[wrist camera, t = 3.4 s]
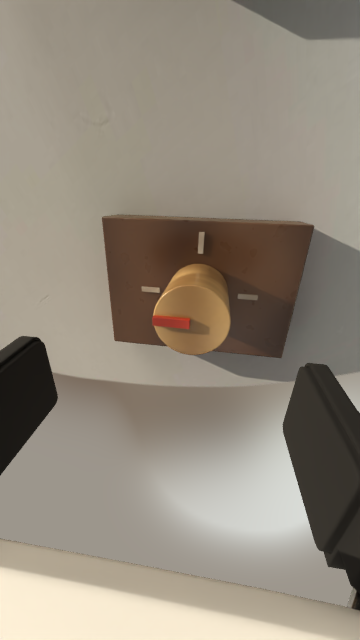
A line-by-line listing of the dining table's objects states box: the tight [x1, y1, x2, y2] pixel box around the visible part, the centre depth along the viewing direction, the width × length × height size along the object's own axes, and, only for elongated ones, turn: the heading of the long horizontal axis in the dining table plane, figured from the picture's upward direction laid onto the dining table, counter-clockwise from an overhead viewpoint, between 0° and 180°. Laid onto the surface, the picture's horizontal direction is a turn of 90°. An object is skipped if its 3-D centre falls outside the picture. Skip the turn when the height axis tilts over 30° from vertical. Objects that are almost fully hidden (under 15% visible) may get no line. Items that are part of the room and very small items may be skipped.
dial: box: [152, 264, 231, 355], centre depth 16 cm, size 4×4×5 cm
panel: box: [102, 215, 314, 358], centre depth 20 cm, size 14×10×3 cm
